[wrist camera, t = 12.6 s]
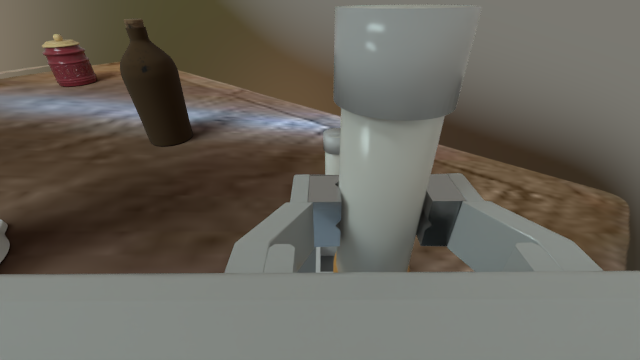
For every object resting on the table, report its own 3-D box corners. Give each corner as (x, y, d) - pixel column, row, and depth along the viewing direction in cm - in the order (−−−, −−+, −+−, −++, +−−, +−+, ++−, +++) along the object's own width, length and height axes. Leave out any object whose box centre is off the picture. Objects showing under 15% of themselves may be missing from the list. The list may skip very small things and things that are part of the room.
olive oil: (204, 136, 69) (173, 18, 55) (161, 152, 62) (113, 22, 48) (181, 126, 74) (148, 16, 60) (139, 140, 67) (91, 20, 53)
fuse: (324, 230, 39) (323, 138, 31) (324, 216, 42) (323, 128, 34) (345, 230, 39) (350, 138, 31) (344, 216, 42) (348, 128, 34)
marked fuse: (330, 379, 12) (338, 9, 5) (328, 314, 15) (332, 5, 7) (397, 379, 12) (515, 8, 5) (385, 314, 15) (448, 4, 7)
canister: (58, 82, 115) (33, 34, 105) (96, 77, 121) (76, 31, 112) (59, 89, 106) (32, 37, 96) (100, 83, 113) (78, 34, 103)
